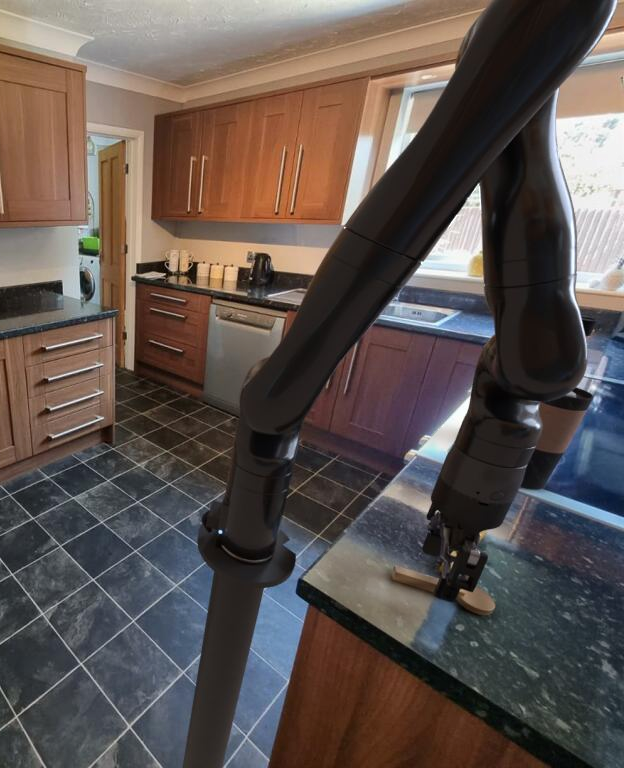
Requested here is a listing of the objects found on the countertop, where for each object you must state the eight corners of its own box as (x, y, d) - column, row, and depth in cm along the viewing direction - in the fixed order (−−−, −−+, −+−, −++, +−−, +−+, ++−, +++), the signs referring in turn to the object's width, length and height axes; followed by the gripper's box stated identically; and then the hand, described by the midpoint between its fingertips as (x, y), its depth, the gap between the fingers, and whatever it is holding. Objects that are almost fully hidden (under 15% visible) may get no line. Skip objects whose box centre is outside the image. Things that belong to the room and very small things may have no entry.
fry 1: (450, 577, 63) (453, 570, 63) (438, 570, 64) (441, 563, 64) (467, 557, 67) (471, 550, 66) (456, 551, 68) (459, 544, 67)
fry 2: (468, 555, 67) (472, 548, 67) (457, 549, 68) (461, 542, 68) (484, 537, 71) (487, 530, 70) (473, 531, 72) (476, 525, 71)
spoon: (394, 587, 61) (397, 579, 61) (390, 565, 65) (393, 558, 64) (497, 620, 57) (502, 612, 56) (486, 595, 60) (491, 587, 60)
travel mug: (537, 495, 81) (587, 402, 73) (489, 474, 87) (530, 386, 79) (551, 482, 85) (600, 393, 77) (504, 463, 91) (544, 378, 83)
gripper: (430, 447, 61) (398, 533, 68) (455, 507, 49) (414, 604, 56) (495, 460, 58) (455, 549, 65) (538, 526, 46) (484, 627, 53)
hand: (436, 574), depth 60 cm, fingers open, 8 cm apart
